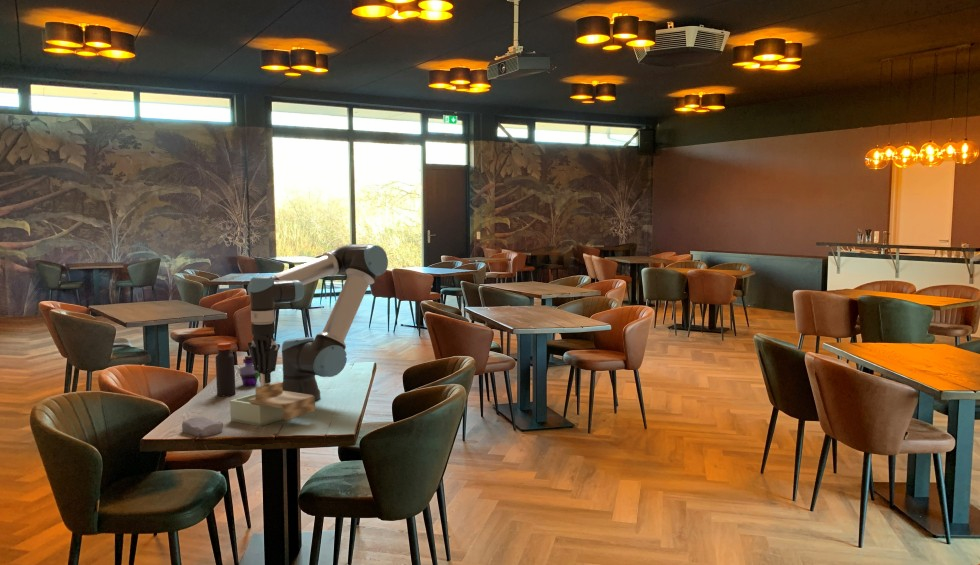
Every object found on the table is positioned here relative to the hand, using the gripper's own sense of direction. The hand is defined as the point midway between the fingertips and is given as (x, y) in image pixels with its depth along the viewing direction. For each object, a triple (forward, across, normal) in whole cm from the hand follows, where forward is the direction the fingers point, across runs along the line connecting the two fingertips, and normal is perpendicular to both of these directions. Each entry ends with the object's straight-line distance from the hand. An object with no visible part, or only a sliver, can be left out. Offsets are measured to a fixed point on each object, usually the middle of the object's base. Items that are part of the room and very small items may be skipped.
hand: (265, 392), depth 241 cm
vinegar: (+10, -41, +18) cm, 46 cm away
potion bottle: (+10, -46, +34) cm, 58 cm away
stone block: (+10, -7, -19) cm, 23 cm away
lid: (+6, +8, 0) cm, 10 cm away
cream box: (+9, -2, 0) cm, 10 cm away
